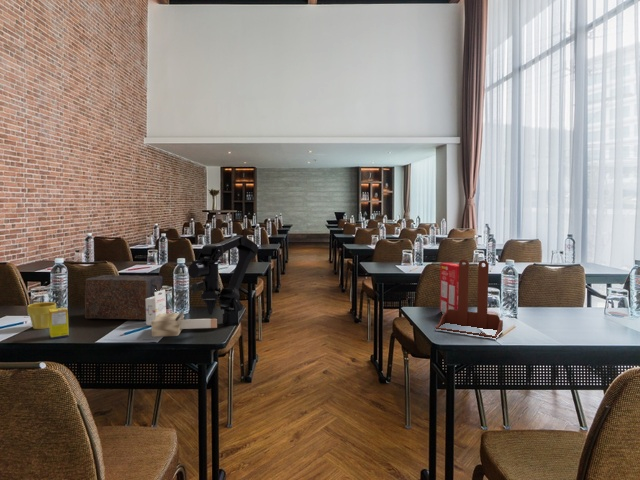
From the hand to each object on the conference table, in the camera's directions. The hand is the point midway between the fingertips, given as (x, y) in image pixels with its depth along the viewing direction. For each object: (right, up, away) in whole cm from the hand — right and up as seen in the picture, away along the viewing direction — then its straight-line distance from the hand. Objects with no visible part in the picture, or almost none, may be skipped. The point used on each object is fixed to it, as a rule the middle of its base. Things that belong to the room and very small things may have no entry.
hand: (211, 312), depth 180 cm
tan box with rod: (-17, -8, -2) cm, 19 cm away
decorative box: (-46, -6, +23) cm, 52 cm away
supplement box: (-57, -8, -10) cm, 59 cm away
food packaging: (+109, -7, +30) cm, 114 cm away
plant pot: (-73, -7, +4) cm, 73 cm away
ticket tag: (-6, -6, 0) cm, 9 cm away
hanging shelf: (+107, -9, +1) cm, 108 cm away
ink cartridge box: (-27, -7, +12) cm, 31 cm away
